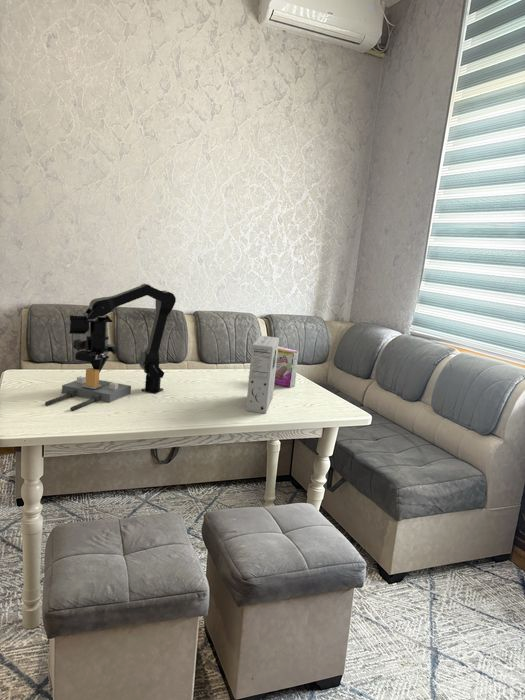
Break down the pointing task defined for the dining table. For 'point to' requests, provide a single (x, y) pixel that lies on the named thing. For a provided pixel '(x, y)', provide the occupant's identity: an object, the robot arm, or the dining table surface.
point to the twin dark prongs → (68, 397)
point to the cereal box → (262, 374)
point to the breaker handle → (92, 378)
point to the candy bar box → (286, 367)
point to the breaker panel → (97, 390)
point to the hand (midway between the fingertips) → (96, 375)
